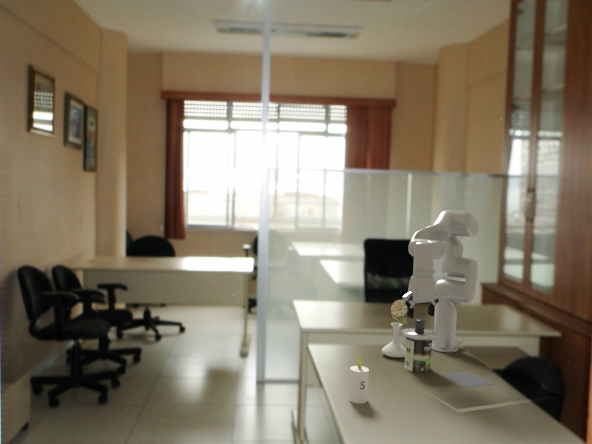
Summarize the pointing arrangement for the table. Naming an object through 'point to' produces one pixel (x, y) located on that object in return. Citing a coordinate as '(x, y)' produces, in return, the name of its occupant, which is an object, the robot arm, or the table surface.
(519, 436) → the table surface
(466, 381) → the mat
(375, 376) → the table surface
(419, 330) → the lid
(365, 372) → the candle
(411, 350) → the coffee can
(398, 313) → the flower in vase
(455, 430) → the table surface
